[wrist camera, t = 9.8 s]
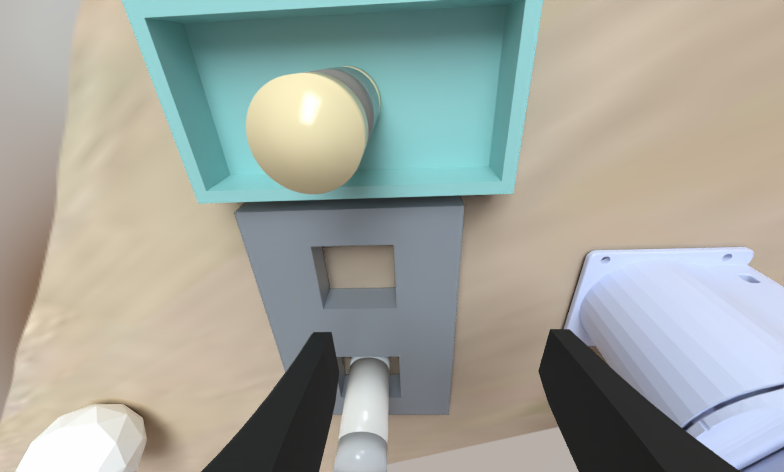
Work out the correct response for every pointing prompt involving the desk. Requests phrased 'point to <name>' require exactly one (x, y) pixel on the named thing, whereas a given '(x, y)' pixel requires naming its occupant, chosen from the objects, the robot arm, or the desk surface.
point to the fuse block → (364, 305)
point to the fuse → (365, 417)
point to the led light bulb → (313, 127)
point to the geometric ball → (89, 442)
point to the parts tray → (348, 48)
